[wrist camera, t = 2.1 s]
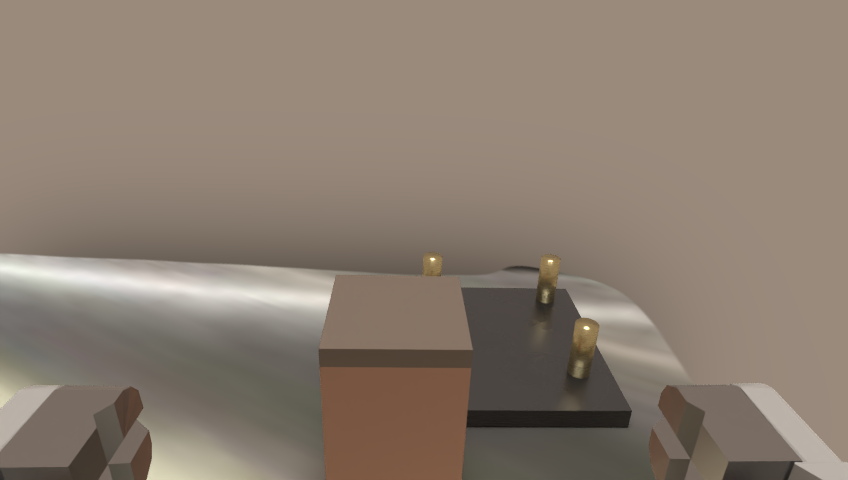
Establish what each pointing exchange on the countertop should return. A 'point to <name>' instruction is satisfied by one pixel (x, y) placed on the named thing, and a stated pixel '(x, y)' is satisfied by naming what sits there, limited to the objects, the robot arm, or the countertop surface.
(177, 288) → the countertop surface
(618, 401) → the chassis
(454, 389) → the block
